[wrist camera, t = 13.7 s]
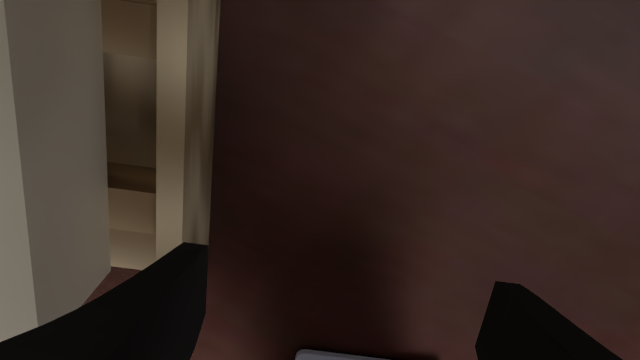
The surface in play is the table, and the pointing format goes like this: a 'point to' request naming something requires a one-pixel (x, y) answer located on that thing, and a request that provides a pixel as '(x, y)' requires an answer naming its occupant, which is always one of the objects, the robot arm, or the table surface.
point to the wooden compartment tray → (159, 124)
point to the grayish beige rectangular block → (51, 160)
